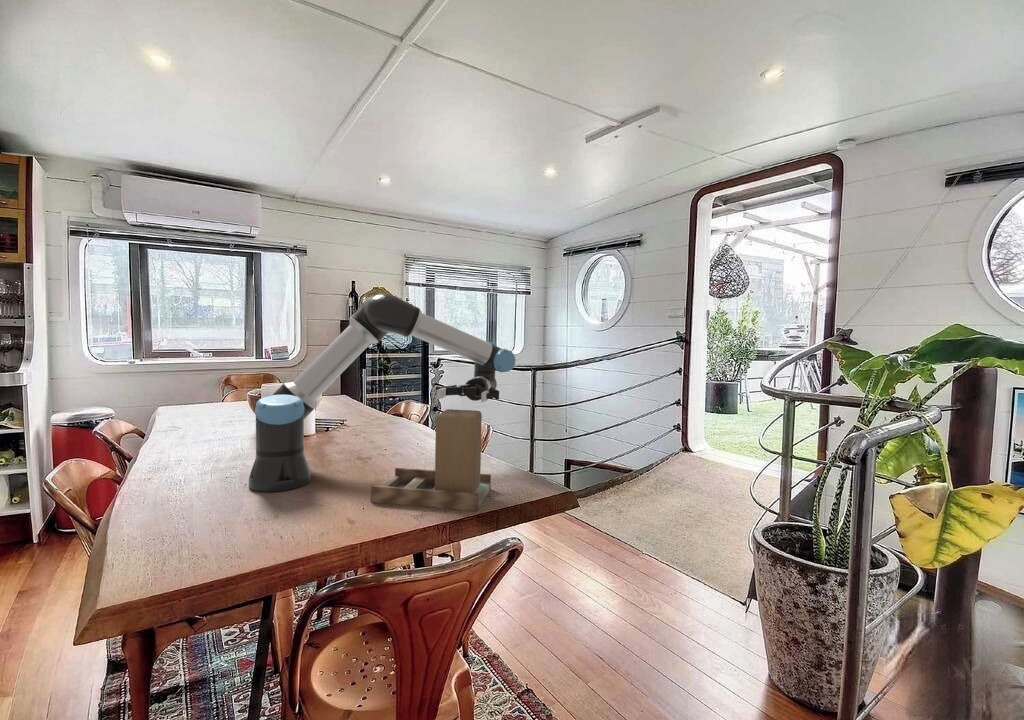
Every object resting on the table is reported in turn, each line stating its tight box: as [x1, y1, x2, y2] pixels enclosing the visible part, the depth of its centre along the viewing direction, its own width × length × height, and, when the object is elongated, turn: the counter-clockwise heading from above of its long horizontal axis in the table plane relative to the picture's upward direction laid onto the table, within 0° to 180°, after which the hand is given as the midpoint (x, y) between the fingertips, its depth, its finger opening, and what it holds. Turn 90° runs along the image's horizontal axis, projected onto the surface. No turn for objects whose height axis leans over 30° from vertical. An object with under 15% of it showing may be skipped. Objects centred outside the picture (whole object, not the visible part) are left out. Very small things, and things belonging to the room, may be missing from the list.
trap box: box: [370, 467, 492, 512], centre depth 119 cm, size 27×16×4 cm, turn 81°
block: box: [434, 408, 483, 493], centre depth 117 cm, size 10×10×20 cm
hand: (459, 396), depth 134 cm, fingers open, 13 cm apart
